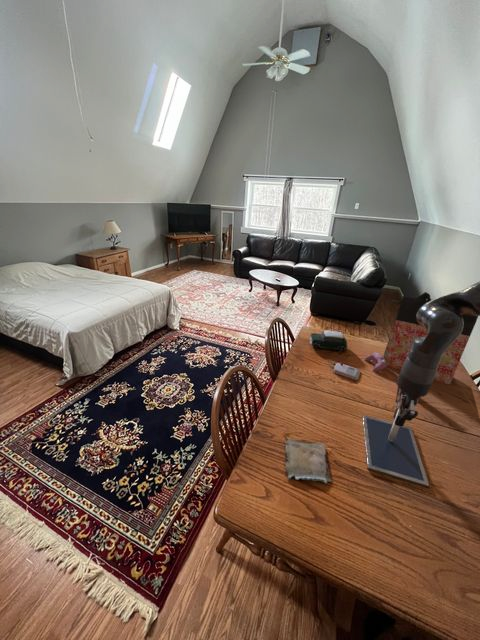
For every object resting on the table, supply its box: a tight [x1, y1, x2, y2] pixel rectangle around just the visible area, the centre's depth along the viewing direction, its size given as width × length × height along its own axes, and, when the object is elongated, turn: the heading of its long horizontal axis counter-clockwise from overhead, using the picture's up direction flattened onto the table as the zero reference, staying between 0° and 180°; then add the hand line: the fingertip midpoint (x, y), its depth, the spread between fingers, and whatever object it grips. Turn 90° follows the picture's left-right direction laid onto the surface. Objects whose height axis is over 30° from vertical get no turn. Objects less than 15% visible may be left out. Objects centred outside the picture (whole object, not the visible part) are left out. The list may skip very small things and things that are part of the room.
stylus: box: [388, 409, 404, 441], centre depth 80 cm, size 2×2×13 cm
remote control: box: [327, 361, 362, 381], centre depth 116 cm, size 7×16×3 cm, turn 58°
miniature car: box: [309, 329, 348, 353], centre depth 134 cm, size 9×18×8 cm, turn 80°
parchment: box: [284, 438, 332, 485], centre depth 76 cm, size 12×13×1 cm
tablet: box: [361, 414, 430, 489], centre depth 82 cm, size 15×21×1 cm
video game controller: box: [363, 352, 388, 373], centre depth 120 cm, size 10×5×7 cm, turn 0°
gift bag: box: [382, 291, 479, 385], centre depth 114 cm, size 29×14×35 cm, turn 60°
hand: (397, 421), depth 80 cm, fingers closed on stylus, 1 cm apart
